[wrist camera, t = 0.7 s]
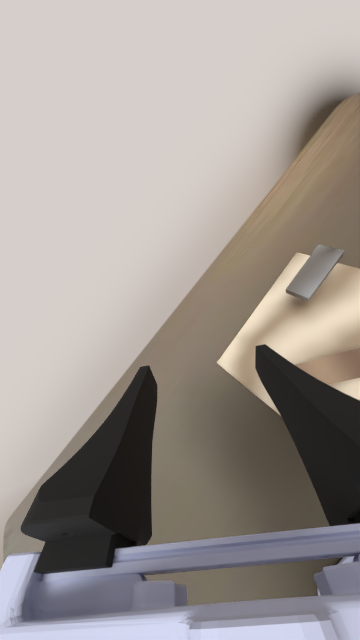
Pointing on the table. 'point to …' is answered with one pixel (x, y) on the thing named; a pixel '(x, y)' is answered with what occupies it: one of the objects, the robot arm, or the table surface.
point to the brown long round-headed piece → (334, 367)
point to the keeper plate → (302, 319)
